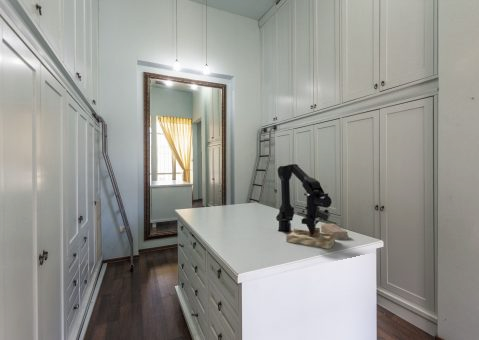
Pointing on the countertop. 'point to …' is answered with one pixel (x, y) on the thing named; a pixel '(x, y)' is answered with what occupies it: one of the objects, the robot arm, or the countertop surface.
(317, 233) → the walnut block
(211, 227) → the countertop surface
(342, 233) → the brick
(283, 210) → the robot arm
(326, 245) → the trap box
